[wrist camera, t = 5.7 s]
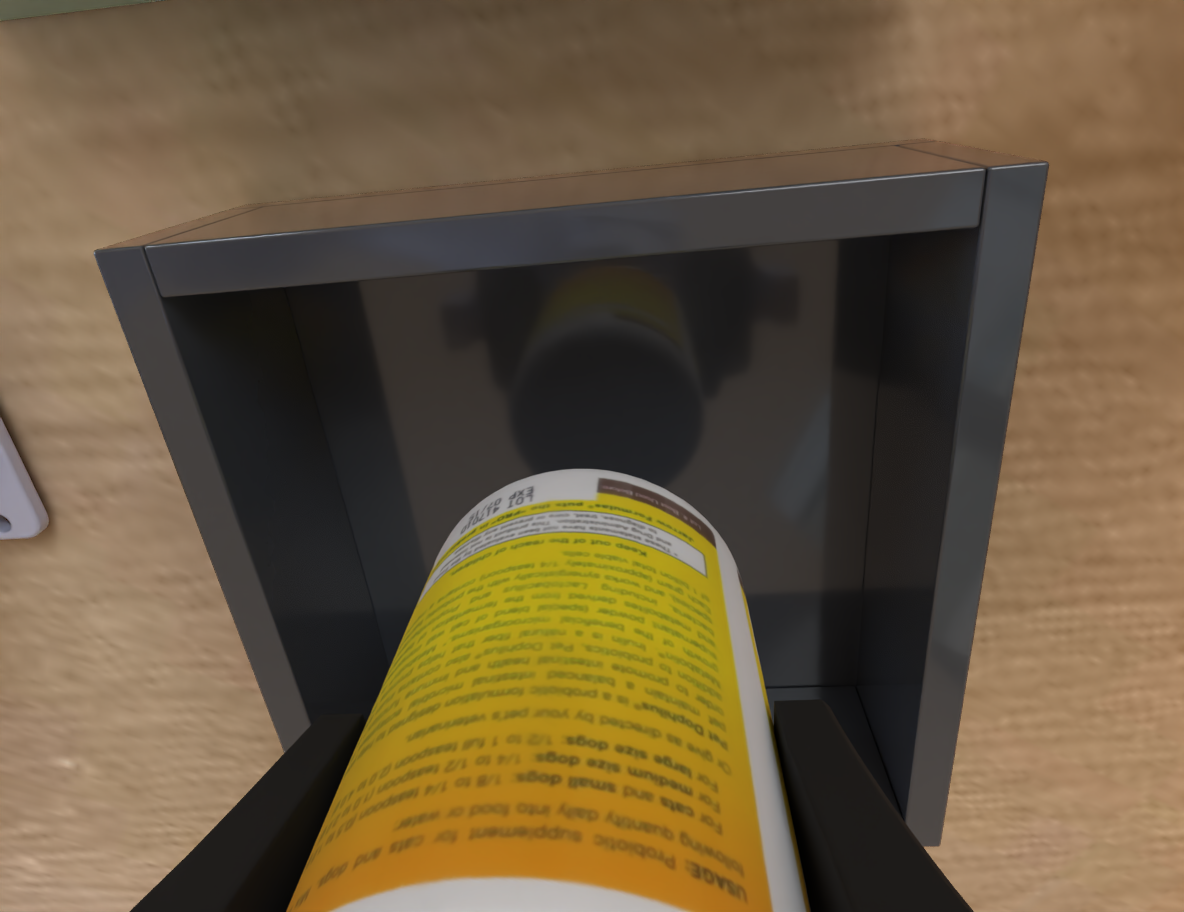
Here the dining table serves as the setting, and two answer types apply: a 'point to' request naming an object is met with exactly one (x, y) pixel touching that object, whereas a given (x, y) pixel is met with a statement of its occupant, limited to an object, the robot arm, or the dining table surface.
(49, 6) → the dish rack
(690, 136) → the dining table surface
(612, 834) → the supplement bottle
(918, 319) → the dark grey storage bin
